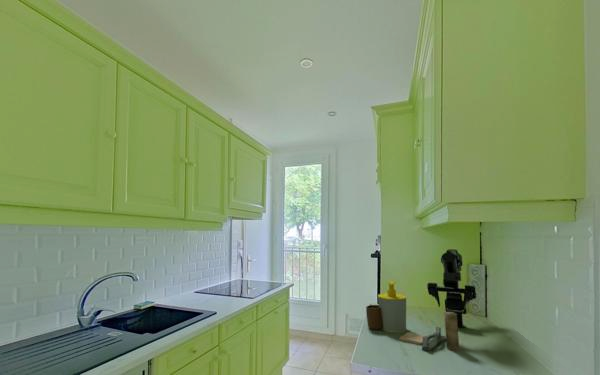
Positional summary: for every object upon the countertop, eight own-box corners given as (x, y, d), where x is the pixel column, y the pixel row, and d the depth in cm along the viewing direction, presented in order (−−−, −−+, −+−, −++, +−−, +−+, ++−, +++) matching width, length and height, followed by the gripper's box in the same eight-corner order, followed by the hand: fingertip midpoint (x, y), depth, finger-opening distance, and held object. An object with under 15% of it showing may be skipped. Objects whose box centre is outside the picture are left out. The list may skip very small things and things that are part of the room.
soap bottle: (380, 332, 138) (378, 283, 141) (378, 323, 151) (376, 279, 154) (410, 333, 136) (407, 284, 139) (405, 325, 148) (403, 280, 151)
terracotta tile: (407, 334, 134) (407, 332, 135) (429, 339, 129) (428, 336, 129) (399, 340, 128) (399, 337, 128) (421, 345, 122) (421, 342, 122)
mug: (364, 323, 152) (362, 303, 153) (379, 322, 152) (377, 302, 153) (370, 330, 140) (367, 309, 141) (386, 329, 140) (384, 307, 142)
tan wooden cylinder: (444, 346, 121) (442, 311, 123) (456, 346, 120) (453, 312, 122) (449, 350, 116) (446, 314, 118) (461, 350, 116) (458, 314, 118)
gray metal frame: (437, 337, 131) (437, 326, 132) (446, 339, 129) (445, 327, 129) (422, 350, 117) (421, 337, 117) (431, 352, 115) (430, 339, 115)
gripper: (426, 264, 139) (424, 293, 127) (473, 266, 130) (476, 298, 118) (429, 279, 144) (428, 309, 133) (474, 282, 135) (477, 314, 124)
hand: (451, 307), depth 127 cm, fingers open, 9 cm apart
